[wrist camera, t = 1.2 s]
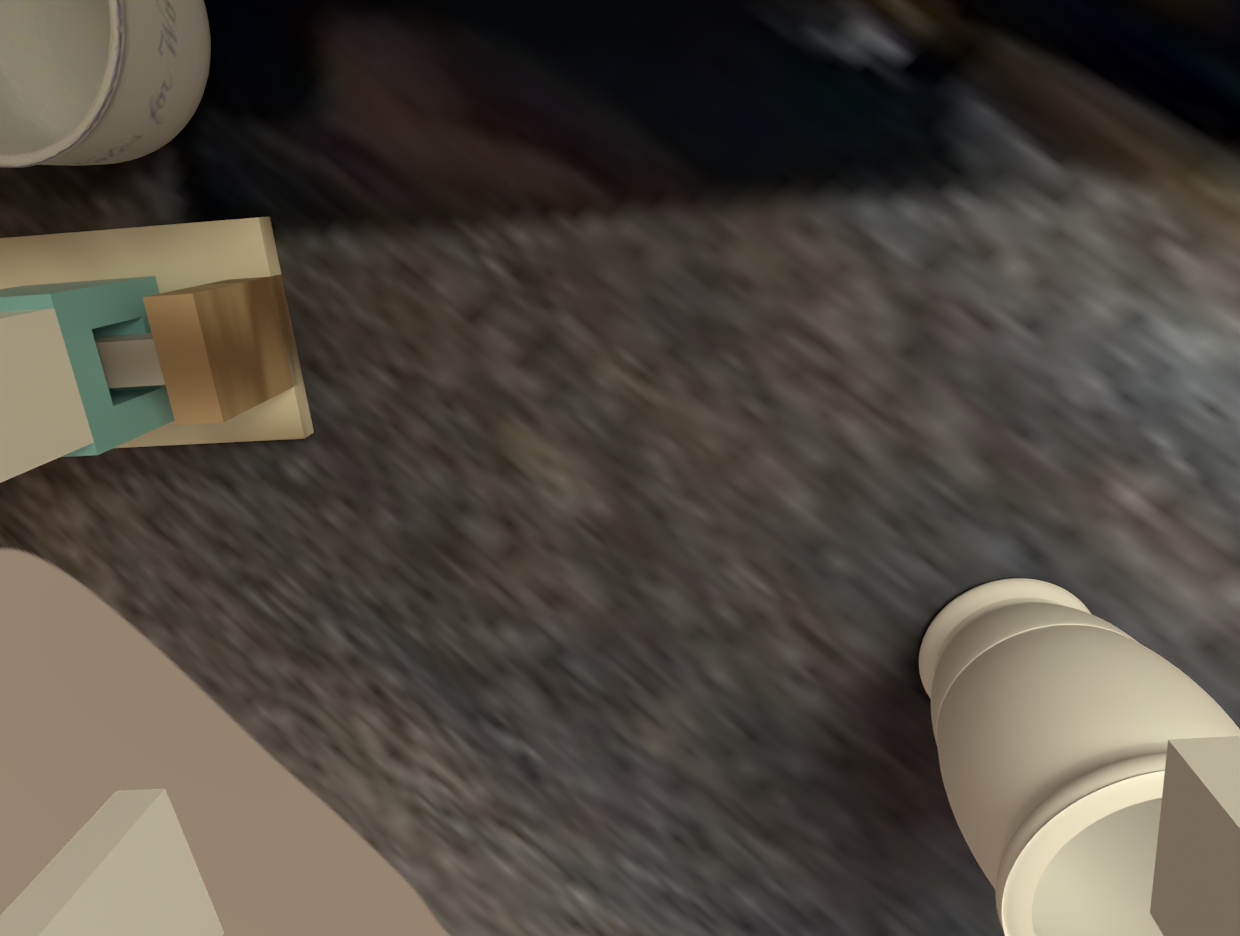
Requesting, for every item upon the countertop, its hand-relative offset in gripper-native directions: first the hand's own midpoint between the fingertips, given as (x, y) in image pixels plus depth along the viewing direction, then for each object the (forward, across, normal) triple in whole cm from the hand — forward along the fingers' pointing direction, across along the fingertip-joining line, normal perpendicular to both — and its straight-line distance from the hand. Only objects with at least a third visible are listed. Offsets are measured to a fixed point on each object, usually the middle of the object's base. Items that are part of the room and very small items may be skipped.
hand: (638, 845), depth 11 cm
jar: (+28, +14, -16) cm, 35 cm away
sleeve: (+25, -25, +4) cm, 35 cm away
